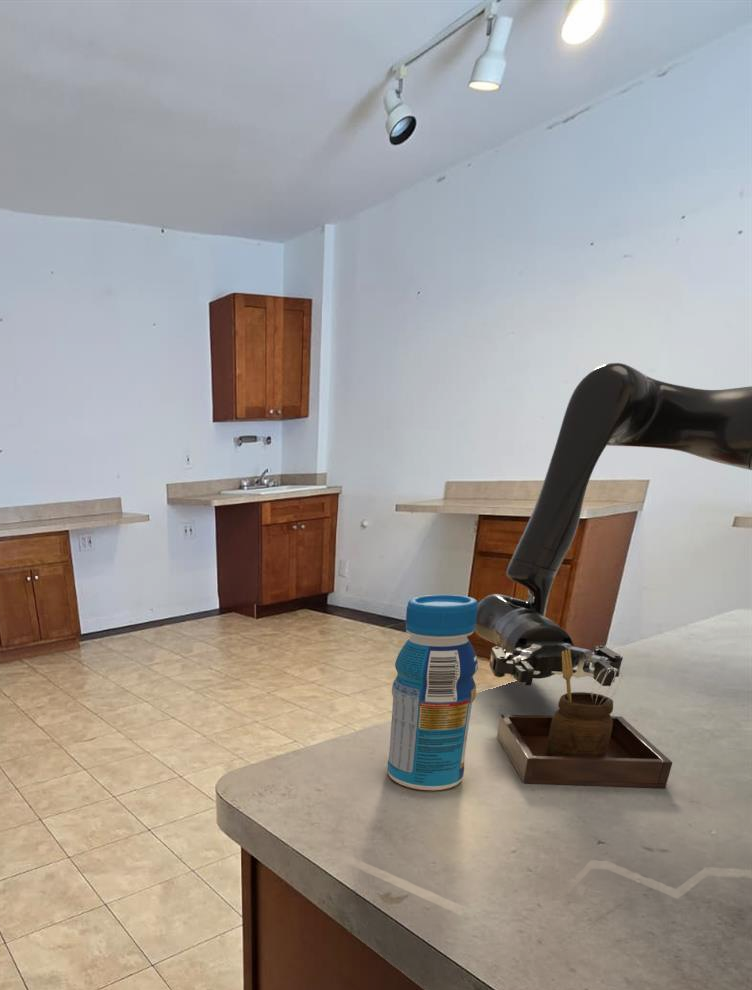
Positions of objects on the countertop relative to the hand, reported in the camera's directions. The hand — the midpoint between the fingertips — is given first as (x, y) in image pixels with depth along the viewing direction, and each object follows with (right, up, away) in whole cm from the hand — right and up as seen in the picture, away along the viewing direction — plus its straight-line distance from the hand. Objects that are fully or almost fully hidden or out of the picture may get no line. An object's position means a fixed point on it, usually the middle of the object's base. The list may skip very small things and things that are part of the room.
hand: (569, 678), depth 76 cm
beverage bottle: (-19, -12, -3) cm, 22 cm away
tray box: (-1, -10, -2) cm, 10 cm away
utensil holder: (-1, -10, -2) cm, 10 cm away
